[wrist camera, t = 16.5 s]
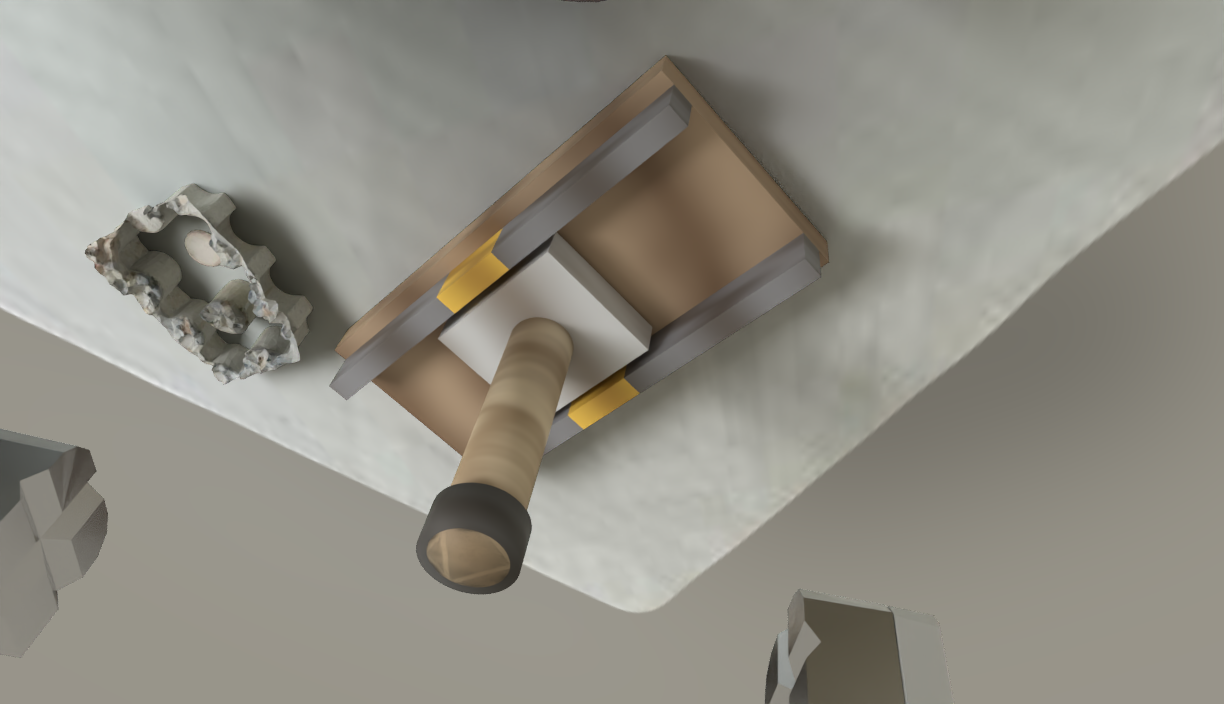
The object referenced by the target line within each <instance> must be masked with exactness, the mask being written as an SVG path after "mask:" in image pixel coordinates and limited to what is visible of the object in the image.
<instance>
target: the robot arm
mask: <svg viewBox="0 0 1224 704" xmlns="http://www.w3.org/2000/svg"><path fill="white" fill-rule="evenodd" d="M95 472H96V468H95V465H94V462H93V459H92V456H91V453H90V451H89V450H88V449H85V448H81V447H78V446H74V445H70V444H65V443H61V442H56V441H52V440H48V439H43V438H38V437H34V436H30V435H26V434H21V433H17V432H12V431H8V430H3V429H0V654H1V655H6V656H12V657H18V658H21V657H22V656H23V655H24V653H25V652H26V651H27V649H28V648H29V647H30V645H31V644H32V643H33V642H34V640H35V639H36V638H37V636H38V635H39V634H40V633H41V631H42V630H43V629H44V627H45V626H46V625H47V623H48V622H49V621H50V620H51V618H52V617H53V616H54V614H55V613H56V612H57V610H58V594H57V591H58V590H60V589H61V588H63V587H65V586H67V585H69V584H71V583H73V582H75V581H77V580H79V579H81V578H83V576H84V575H85V574H86V572H87V571H88V569H89V568H90V567H91V565H92V564H93V563H94V561H95V560H96V558H97V557H98V555H99V552H100V549H101V547H102V544H103V542H104V539H105V536H106V534H107V522H108V512H107V508H106V505H105V501H104V498H103V497H102V496H101V495H100V494H99V493H98V492H97V491H96V490H95V489H94V488H93V487H92V486H91V485H90V484H89V483H88V481H89V480H90V478H91V477H92V476H93V475H94V474H95ZM765 704H955V703H954V698H953V692H952V687H951V681H950V676H949V671H948V666H947V661H946V655H945V650H944V644H943V639H942V634H941V629H940V624H939V622H938V621H937V619H936V618H935V616H934V615H931V614H926V613H921V612H915V611H911V610H906V609H900V608H896V607H890V606H888V607H886V606H885V605H884V604H878V603H873V602H867V601H862V600H856V599H851V598H846V597H841V596H835V595H830V594H825V593H819V592H814V591H808V590H803V589H799V590H798V591H797V592H796V593H795V594H794V596H793V598H792V600H791V603H790V605H789V608H788V629H787V630H785V631H783V632H781V633H779V634H778V635H777V638H776V641H775V644H774V647H773V650H772V652H771V657H770V661H769V666H768V671H767V677H766V689H765Z"/></svg>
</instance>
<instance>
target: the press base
mask: <svg viewBox="0 0 1224 704" xmlns="http://www.w3.org/2000/svg"><path fill="white" fill-rule="evenodd" d="M556 232H557V233H558V234H559V235H560V236H561V237H562V238H563V239H564V240H565V241H566V242H567V243H568V244H569V245H570V246H571V247H572V248H573V249H574V250H575V251H576V252H577V253H578V254H579V255H580V256H581V257H582V258H583V259H584V260H585V261H586V262H587V263H588V264H589V265H590V266H592V267H593V268H594V269H595V270H596V271H597V272H598V273H599V274H600V275H601V276H602V277H603V278H604V279H605V280H606V281H607V282H608V283H609V284H610V285H611V286H612V287H613V288H614V289H615V290H616V291H617V292H618V293H619V294H620V295H621V296H622V297H623V298H624V299H625V300H626V301H627V302H628V303H629V304H630V305H631V306H632V307H633V308H634V309H635V310H636V311H637V312H638V313H639V314H640V315H641V316H642V317H643V318H644V319H645V320H646V321H647V322H648V323H649V324H650V325H651V326H652V333H651V338H650V344H649V350H648V351H646V352H645V353H643V354H642V355H640V356H639V357H637V358H636V359H634V360H633V361H631V362H630V363H628V364H627V365H625V366H624V367H622V368H621V369H619V370H618V371H616V372H615V373H613V374H612V375H610V376H609V377H607V378H606V379H604V380H603V381H601V382H600V383H598V384H597V385H595V386H594V387H592V388H591V389H589V390H588V391H586V392H585V393H583V394H582V395H580V396H579V397H577V398H576V399H574V400H573V401H571V402H570V403H568V404H567V405H565V406H564V407H562V408H561V409H559V410H558V411H556V412H555V416H554V419H553V422H552V426H551V429H550V433H549V436H548V440H547V443H546V446H545V450H544V453H543V455H545V454H546V453H548V452H549V451H551V450H553V449H554V448H556V447H557V446H559V445H560V444H562V443H563V442H565V441H567V440H568V439H570V438H571V437H573V436H574V435H576V434H578V433H579V432H581V431H582V430H584V429H585V428H587V427H588V426H590V425H592V424H593V423H595V422H596V421H598V420H599V419H601V418H602V417H604V416H606V415H607V414H609V413H610V412H612V411H613V410H615V409H616V408H618V407H620V406H621V405H623V404H624V403H626V402H627V401H629V400H630V399H632V398H634V397H635V396H637V395H638V394H640V393H641V392H643V391H644V390H646V389H648V388H649V387H651V386H652V385H654V384H655V383H657V382H658V381H660V380H662V379H663V378H665V377H666V376H668V375H669V374H671V373H672V372H674V371H676V370H677V369H679V368H680V367H682V366H683V365H685V364H686V363H688V362H690V361H691V360H693V359H694V358H696V357H697V356H699V355H700V354H702V353H704V352H705V351H707V350H708V349H710V348H711V347H713V346H715V345H716V344H718V343H719V342H721V341H722V340H724V339H725V338H727V337H729V336H730V335H732V334H733V333H735V332H736V331H738V330H739V329H741V328H743V327H744V326H746V325H747V324H749V323H750V322H752V321H753V320H755V319H757V318H758V317H760V316H761V315H763V314H764V313H766V312H767V311H769V310H771V309H772V308H774V307H775V306H777V305H778V304H780V303H781V302H783V301H785V300H786V299H788V298H789V297H791V296H792V295H794V294H795V293H797V292H799V291H800V290H802V289H803V288H805V287H806V286H808V285H809V284H811V283H813V282H814V281H816V280H817V279H819V278H820V277H821V267H822V266H824V265H825V264H827V263H829V256H828V247H827V241H826V240H825V239H824V238H823V236H822V235H821V234H820V233H819V232H818V231H817V229H816V228H815V227H814V226H813V225H812V224H811V223H810V221H809V220H808V219H807V218H806V217H805V216H804V214H803V213H802V212H801V211H800V210H799V209H798V207H797V206H796V205H795V204H794V203H793V202H792V201H791V199H790V198H789V197H788V196H787V195H786V194H785V192H784V191H783V190H782V189H781V188H780V187H779V185H778V184H777V183H776V182H775V181H774V180H773V179H772V177H771V176H770V175H769V174H768V173H767V172H766V170H765V169H764V168H763V167H762V166H761V165H760V164H759V162H758V161H757V160H756V159H755V158H754V157H753V155H752V154H751V153H750V152H749V151H748V150H747V148H746V147H745V146H744V145H743V144H742V143H741V142H740V140H739V139H738V138H737V137H736V136H735V135H734V133H733V132H732V131H731V130H730V129H729V128H728V126H727V125H726V124H725V123H724V122H723V121H722V120H721V118H720V117H719V116H718V115H717V114H716V113H715V111H714V110H713V109H712V108H711V107H710V106H709V104H708V103H707V102H706V101H705V100H704V99H703V98H702V96H701V95H700V94H699V93H698V92H697V91H696V89H695V88H694V87H693V86H692V85H691V84H690V83H689V81H688V80H687V79H686V78H685V77H684V76H683V74H682V73H681V72H680V71H679V70H678V69H677V67H676V66H675V65H674V64H673V63H672V62H671V61H670V59H669V58H668V57H667V56H666V55H665V56H664V57H663V58H662V59H661V60H660V61H659V62H657V63H656V64H655V65H654V66H653V67H652V68H650V69H649V70H648V71H647V72H646V73H645V74H643V75H642V76H641V77H640V78H639V79H638V80H636V81H635V82H634V83H633V84H632V85H631V86H630V87H628V88H627V89H626V90H625V91H624V92H623V93H621V94H620V95H619V96H618V97H617V98H616V99H614V100H613V101H612V102H611V103H610V104H609V105H608V106H606V107H605V108H604V109H603V110H602V111H601V112H599V113H598V114H597V115H596V116H595V117H594V118H592V119H591V120H590V121H589V122H588V123H587V124H586V125H584V126H583V127H582V128H581V129H580V130H579V131H577V132H576V133H575V134H574V135H573V136H572V137H570V138H569V139H568V140H567V141H566V142H565V143H563V144H562V145H561V146H560V147H559V148H558V149H557V150H555V151H554V152H553V153H552V154H551V155H550V156H548V157H547V158H546V159H545V160H544V161H543V162H541V163H540V164H539V165H538V166H537V167H536V168H535V169H533V170H532V171H531V172H530V173H529V174H528V175H526V176H525V177H524V178H523V179H522V180H521V181H519V182H518V183H517V184H516V185H515V186H514V187H512V188H511V189H510V190H509V191H508V192H507V193H506V194H504V195H503V196H502V197H501V198H500V199H499V200H497V201H496V202H495V203H494V204H493V205H492V206H490V207H489V208H488V209H487V210H486V211H485V212H484V213H482V214H481V215H480V216H479V217H478V218H477V219H475V220H474V221H473V222H472V223H471V224H470V225H468V226H467V227H466V228H465V229H464V230H463V231H462V232H460V233H459V234H458V235H457V236H456V237H455V238H453V239H452V240H451V241H450V242H449V243H448V244H446V245H445V246H444V247H443V248H442V249H441V250H439V251H438V252H437V253H436V254H435V255H434V256H433V257H431V258H430V259H429V260H428V261H427V262H426V263H424V264H423V265H422V266H421V267H420V268H419V269H417V270H416V271H415V272H414V273H413V274H412V275H411V276H409V277H408V278H407V279H406V280H405V281H404V282H402V283H401V284H400V285H399V286H398V287H397V288H395V289H394V290H393V291H392V292H391V293H390V294H389V295H387V296H386V297H385V298H384V299H383V300H382V301H380V302H379V303H378V304H377V305H376V306H375V307H373V308H372V309H371V310H370V311H369V312H368V313H366V314H365V315H364V316H363V317H362V318H361V319H360V320H358V321H357V322H356V323H355V324H354V325H353V326H351V327H350V328H349V329H348V330H347V331H346V333H345V335H344V336H343V338H342V339H341V341H340V342H339V344H338V345H337V347H336V348H335V351H336V352H337V353H338V354H340V355H341V356H342V357H343V358H344V359H346V360H345V361H344V363H343V365H342V366H341V368H340V369H339V371H338V373H337V374H336V376H335V378H334V379H333V381H332V382H331V384H330V387H331V388H332V389H333V390H335V391H336V392H337V393H338V394H340V395H341V396H342V397H343V398H345V399H346V400H348V399H349V398H350V397H351V396H353V395H354V394H355V393H356V392H358V391H359V390H360V389H361V388H363V387H364V386H365V385H366V384H368V383H369V382H370V381H372V382H373V383H375V384H376V385H377V386H378V387H379V388H381V389H382V390H383V391H384V392H385V393H387V394H388V395H389V396H390V397H391V398H393V399H394V400H395V401H396V402H398V403H399V404H400V405H401V406H402V407H404V408H405V409H406V410H407V411H408V412H410V413H411V414H412V415H413V416H414V417H416V418H417V419H418V420H419V421H420V422H422V423H423V424H424V425H425V426H427V427H428V428H429V429H430V430H431V431H433V432H434V433H435V434H436V435H437V436H439V437H440V438H441V439H442V440H443V441H445V442H446V443H447V444H448V445H449V446H451V447H452V448H453V449H454V450H455V451H457V452H458V453H459V454H460V455H462V456H463V454H464V451H465V449H466V446H467V444H468V441H469V439H470V436H471V434H472V431H473V429H474V426H475V424H476V421H477V418H478V416H479V413H480V411H481V408H482V406H483V403H484V401H485V398H486V396H487V393H488V391H489V388H490V384H489V383H488V382H487V381H485V380H484V379H483V378H482V377H481V376H480V375H479V374H477V373H476V372H475V371H474V370H473V369H472V368H471V367H469V366H468V365H467V364H466V363H465V362H464V361H463V360H461V359H460V358H459V357H458V356H457V355H456V354H455V353H453V352H452V351H451V350H450V349H449V348H448V347H447V346H446V345H444V344H443V343H442V342H441V341H440V340H439V339H438V338H439V336H440V334H441V332H442V330H443V328H444V326H445V324H446V322H447V320H448V319H449V318H450V317H451V316H452V315H454V314H455V313H456V312H457V311H459V310H460V309H461V308H462V307H464V306H465V305H466V304H467V303H469V302H470V301H471V300H472V299H474V298H475V297H476V296H477V295H479V294H480V293H481V292H482V291H484V290H485V289H486V288H487V287H489V286H490V285H491V284H492V283H494V282H495V281H496V280H497V279H499V278H500V277H501V276H502V275H504V274H505V273H506V272H507V271H508V270H510V269H511V268H512V267H513V266H515V265H516V264H517V263H518V262H520V261H521V260H522V259H523V258H525V257H526V256H527V255H528V254H530V253H531V252H532V251H533V250H535V249H536V248H537V247H538V246H540V245H541V244H542V243H543V242H545V241H546V240H547V239H548V238H550V237H551V236H552V235H553V234H555V233H556Z"/></svg>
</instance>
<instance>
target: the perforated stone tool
mask: <svg viewBox="0 0 1224 704" xmlns="http://www.w3.org/2000/svg"><path fill="white" fill-rule="evenodd" d="M563 1H576V2H594V1H595V2H600V1H605V0H563Z"/></svg>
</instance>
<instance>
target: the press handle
mask: <svg viewBox="0 0 1224 704" xmlns="http://www.w3.org/2000/svg"><path fill="white" fill-rule="evenodd" d="M651 333H652V326H651V325H650V324H649V323H648V322H647V321H646V320H645V319H644V318H643V317H642V316H641V315H640V314H639V313H638V312H637V311H636V310H635V309H634V308H633V307H632V306H631V305H630V304H629V303H628V302H627V301H626V300H625V299H624V298H623V297H622V296H621V295H620V294H619V293H618V292H617V291H616V290H615V289H614V288H613V287H612V286H611V285H610V284H609V283H608V282H607V281H606V280H605V279H604V278H603V277H602V276H601V275H600V274H599V273H598V272H597V271H596V270H595V269H594V268H593V267H592V266H590V265H589V264H588V263H587V262H586V261H585V260H584V259H583V258H582V257H581V256H580V255H579V254H578V253H577V252H576V251H575V250H574V249H573V248H572V247H571V246H570V245H569V244H568V243H567V242H566V241H565V240H564V239H563V238H562V237H561V236H560V235H559V234H558V233H557V232H556V233H555V234H553V235H552V236H551V237H550V238H548V239H547V240H546V241H545V242H543V243H542V244H541V245H540V246H538V247H537V248H536V249H535V250H533V251H532V252H531V253H530V254H528V255H527V256H526V257H525V258H523V259H522V260H521V261H520V262H518V263H517V264H516V265H515V266H513V267H512V268H511V269H510V270H508V271H507V272H506V273H505V274H504V275H502V276H501V277H500V278H499V279H497V280H496V281H495V282H494V283H492V284H491V285H490V286H489V287H487V288H486V289H485V290H484V291H482V292H481V293H480V294H479V295H477V296H476V297H475V298H474V299H472V300H471V301H470V302H469V303H467V304H466V305H465V306H464V307H462V308H461V309H460V310H459V311H457V312H456V313H455V314H454V315H452V316H451V317H450V318H449V319H448V320H447V322H446V324H445V326H444V328H443V330H442V332H441V334H440V336H439V338H438V339H439V340H440V341H441V342H442V343H443V344H444V345H446V346H447V347H448V348H449V349H450V350H451V351H452V352H453V353H455V354H456V355H457V356H458V357H459V358H460V359H461V360H463V361H464V362H465V363H466V364H467V365H468V366H469V367H471V368H472V369H473V370H474V371H475V372H476V373H477V374H479V375H480V376H481V377H482V378H483V379H484V380H485V381H487V382H488V383H489V384H490V388H489V391H488V393H487V396H486V398H485V401H484V403H483V406H482V408H481V411H480V413H479V416H478V418H477V421H476V424H475V426H474V429H473V431H472V434H471V436H470V439H469V441H468V444H467V446H466V449H465V451H464V454H463V456H462V459H461V462H460V464H459V467H458V469H457V472H456V474H455V477H454V479H453V482H452V484H451V486H450V487H447V488H446V489H444V490H443V491H441V492H440V493H439V494H438V495H437V496H436V498H435V500H434V502H433V504H432V507H431V509H430V512H429V514H428V516H427V519H426V522H425V524H424V526H423V529H422V531H421V534H420V536H419V539H418V541H417V545H416V552H417V557H418V559H419V562H420V563H421V565H422V567H423V568H424V569H425V571H426V572H427V573H428V574H429V575H431V576H432V577H433V578H434V579H435V580H437V581H438V582H440V583H442V584H443V585H445V586H447V587H450V588H452V589H455V590H458V591H461V592H465V593H471V594H491V593H496V592H499V591H502V590H504V589H506V588H508V587H509V586H511V585H512V584H513V583H514V582H515V581H516V580H517V578H518V576H519V574H520V570H521V566H522V563H523V559H524V556H525V552H526V549H527V545H528V541H529V538H530V534H531V529H532V525H531V519H530V516H529V514H528V512H527V508H528V505H529V501H530V498H531V494H532V491H533V488H534V484H535V481H536V477H537V474H538V470H539V467H540V464H541V460H542V457H543V453H544V450H545V446H546V443H547V440H548V436H549V433H550V429H551V426H552V422H553V419H554V416H555V412H556V411H558V410H559V409H561V408H562V407H564V406H565V405H567V404H568V403H570V402H571V401H573V400H574V399H576V398H577V397H579V396H580V395H582V394H583V393H585V392H586V391H588V390H589V389H591V388H592V387H594V386H595V385H597V384H598V383H600V382H601V381H603V380H604V379H606V378H607V377H609V376H610V375H612V374H613V373H615V372H616V371H618V370H619V369H621V368H622V367H624V366H625V365H627V364H628V363H630V362H631V361H633V360H634V359H636V358H637V357H639V356H640V355H642V354H643V353H645V352H646V351H648V350H649V344H650V338H651Z"/></svg>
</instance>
